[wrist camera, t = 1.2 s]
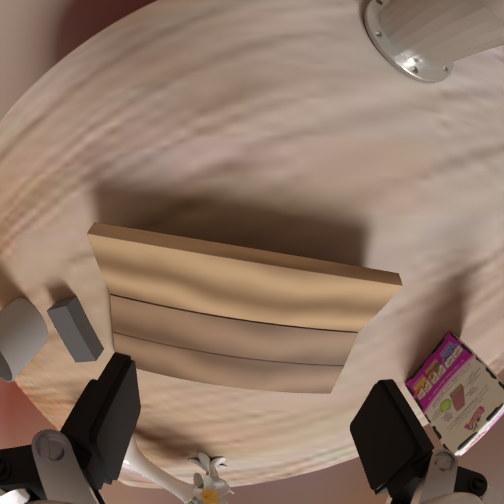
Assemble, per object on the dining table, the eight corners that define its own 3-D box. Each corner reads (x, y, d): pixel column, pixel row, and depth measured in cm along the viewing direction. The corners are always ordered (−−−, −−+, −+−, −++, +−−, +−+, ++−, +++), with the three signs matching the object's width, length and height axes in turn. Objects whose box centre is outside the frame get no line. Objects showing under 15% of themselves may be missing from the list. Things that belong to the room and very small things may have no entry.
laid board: (115, 289, 28) (109, 295, 26) (353, 326, 30) (358, 333, 28) (120, 356, 31) (116, 363, 29) (327, 386, 33) (330, 393, 31)
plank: (94, 222, 21) (87, 233, 20) (398, 273, 23) (402, 285, 22) (114, 282, 27) (109, 293, 26) (357, 320, 29) (359, 331, 28)
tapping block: (58, 300, 29) (46, 310, 26) (77, 295, 28) (65, 306, 26) (84, 350, 31) (75, 362, 28) (105, 347, 31) (96, 360, 28)
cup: (39, 302, 28) (-3, 338, 19) (54, 349, 31) (21, 389, 21) (7, 294, 28) (-32, 323, 19) (21, 338, 31) (-11, 371, 21)
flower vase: (123, 409, 43) (226, 474, 41) (71, 466, 27) (191, 540, 25) (133, 383, 38) (258, 461, 36) (66, 455, 21) (221, 546, 19)
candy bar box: (418, 389, 35) (460, 457, 19) (403, 384, 34) (447, 459, 18) (461, 337, 32) (518, 398, 16) (449, 328, 31) (512, 394, 16)
